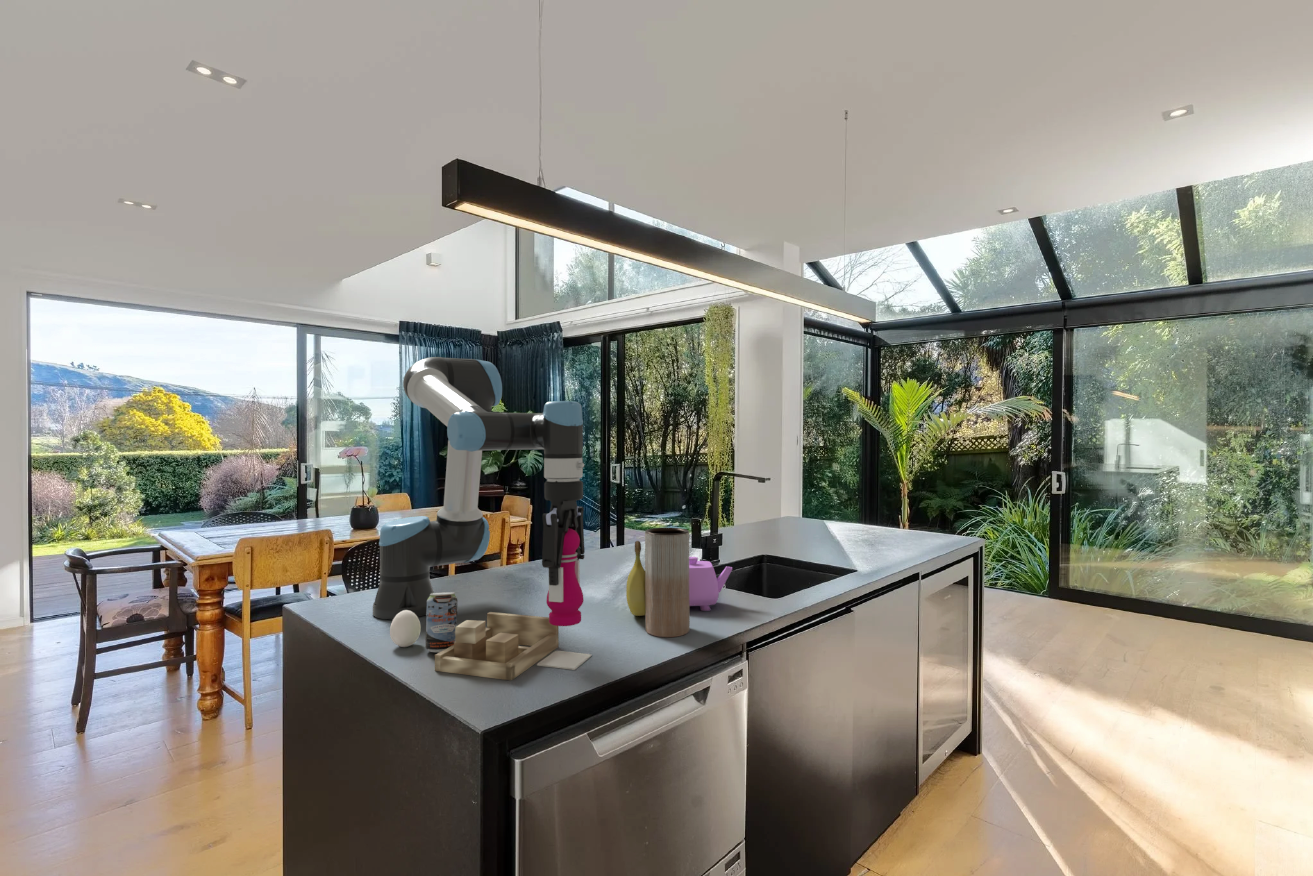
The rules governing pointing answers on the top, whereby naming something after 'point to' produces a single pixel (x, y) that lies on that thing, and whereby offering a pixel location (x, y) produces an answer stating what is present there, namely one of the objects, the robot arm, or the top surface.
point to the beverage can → (441, 621)
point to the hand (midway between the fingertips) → (564, 596)
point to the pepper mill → (568, 586)
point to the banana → (636, 585)
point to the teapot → (705, 583)
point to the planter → (667, 582)
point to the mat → (564, 660)
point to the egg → (405, 628)
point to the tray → (529, 633)
